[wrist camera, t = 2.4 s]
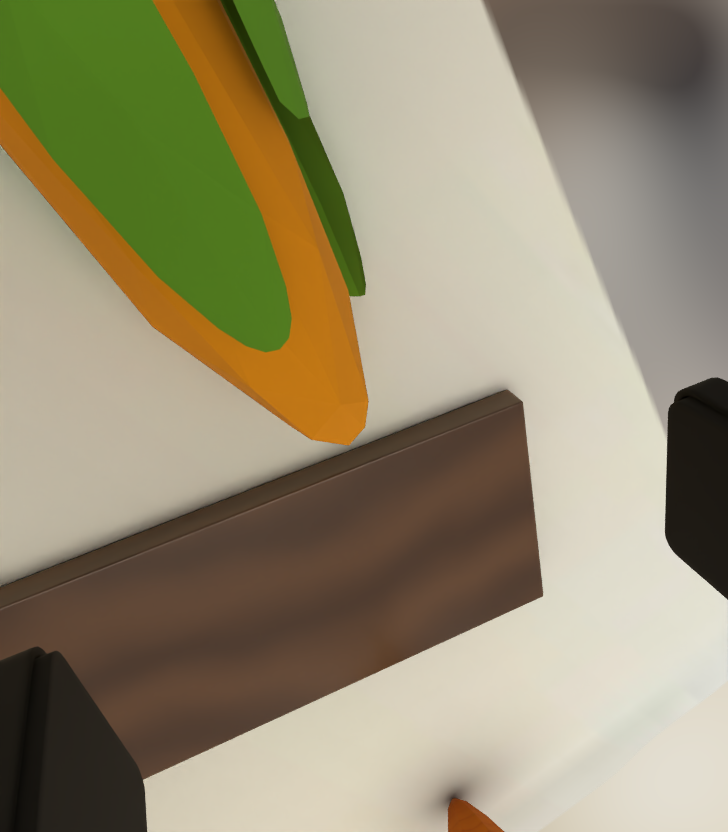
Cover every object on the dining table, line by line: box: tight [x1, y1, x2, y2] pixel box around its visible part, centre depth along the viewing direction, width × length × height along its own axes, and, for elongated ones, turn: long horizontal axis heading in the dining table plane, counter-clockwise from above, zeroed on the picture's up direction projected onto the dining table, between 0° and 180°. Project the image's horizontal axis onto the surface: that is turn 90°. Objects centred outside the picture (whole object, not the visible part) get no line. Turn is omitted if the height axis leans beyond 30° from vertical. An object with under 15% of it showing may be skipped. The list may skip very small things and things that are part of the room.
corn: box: [0, 0, 368, 445], centre depth 16 cm, size 7×8×20 cm
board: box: [0, 390, 543, 779], centre depth 28 cm, size 11×23×1 cm, turn 102°
